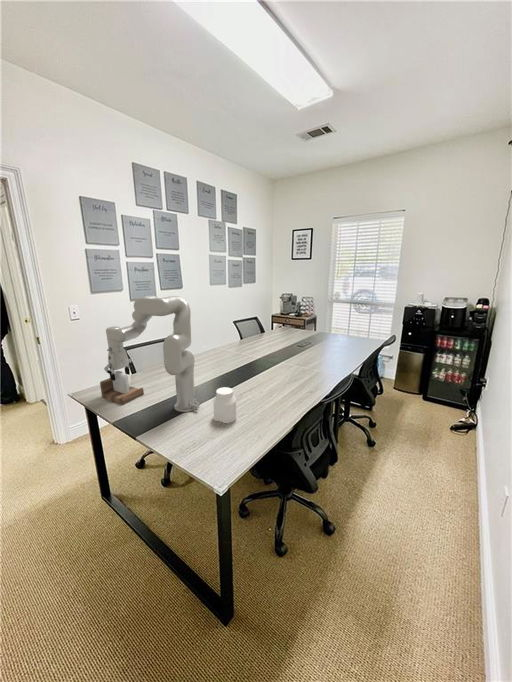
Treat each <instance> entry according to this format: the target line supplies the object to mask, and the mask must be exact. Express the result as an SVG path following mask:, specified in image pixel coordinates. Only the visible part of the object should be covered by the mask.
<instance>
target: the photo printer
mask: <svg viewBox="0 0 512 682" xmlns="http://www.w3.org/2000/svg"><path fill="white" fill-rule="evenodd" d="M113 374H115V381H113V388H114V390H115V391H117V392H120V393H123V394H126V393H128V392H129V386H130V384H129V376H128V374H125V371H121V370H115V371H114V373H113Z"/></svg>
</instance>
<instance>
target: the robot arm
mask: <svg viewBox="0 0 512 682" xmlns="http://www.w3.org/2000/svg"><path fill="white" fill-rule="evenodd" d="M133 309H134V311H132V313H131V317H132V319H133V322H132V324H130V325H127V326H124V327H119V326H109V327H106V329H105V333H106V341H107V349H106V351H107V352H108V353H107V363H108V364H107V365H106V366H105V367H103V369H104V371H105V372H106V373H107V374H109V378H110V379H111V380H113V381H115V374H113V373H114V372H115V371H119V370H121V369H124V373H125V374H126V375H127V376H128V375H129V376H130V374H131V372H130V368H131V366H132V365H131V364H132V361H133V359H131V358H129V356H128V353H127V350H126V349H124V343H125V342H128V341H130V340H133V339H137V338H139V336H140V335H141V334H143V332H144V331H145V330H147V329H146V328H147V326H148V325H147V324H148V322H149V321H150V320H151V319H152V318H153V317H166V316H170V315H173V314H174V318H173V322H172V326H173V328H172V329H173V332H172V334H169V335H167V336H166V337H165V339H164V341H163V344H162V347H163V348H162V351H163V365H164V369H165V371H166V372H167V373H168V374H169V375H171V376H175V377H174V378H175V392H176V393H175V394H176V395H175V396H176V403H175V404H174V406H173V407H174V410H175V411H177V412H179V413H189V412H192V411H194V410H196V409H199V408H200V406H201V402H198V401H197V398H196V395H195V394H196V393H195V392H196V391H195V374H194V371H195V355H194V353H192V352H191V351H189V350H186V349H188V348H189V347H190V346H191V344H192V328H191V327H192V326H191V313H192V312H191V308H190V305H189V303H188V301H187V300H186V299H185V298H183V297H181V296H178V295H171V296H166V297H160V298H159V297H158V296H156V295H152V294H150V295H146V296H139V297H138V298H136V299H135V300H134V302H133Z"/></svg>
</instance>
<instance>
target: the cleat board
mask: <svg viewBox="0 0 512 682" xmlns="http://www.w3.org/2000/svg"><path fill="white" fill-rule="evenodd" d="M99 385H100V391H101V398H102V399H105V400H108V401H111V402H115V403H117V404H121V405H126V404H128V403H131V402H132V401H135V400H136V399H138V398H141V397H142V396H144V395H145V392H144V387H140V388H138V387H134V386H130V385H129V392H128V393H126V394H123V393H120V392H117V391H115V390H114V388H113V380H111V379H110V377H109V378H107V379H104V380H101V381H99Z"/></svg>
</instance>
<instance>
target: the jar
mask: <svg viewBox="0 0 512 682" xmlns="http://www.w3.org/2000/svg"><path fill="white" fill-rule="evenodd" d="M215 391H216V395H215V396H214V397H213V399H212V403H213V420H214V421H216V422H219V421H220V423H222V422H223V424H224V423H228V424H231V423H234V422H235V421H236V420H237V418H236V417H238V415H237V398H236V396H235V395H234V390H233V388H230V387H226V386H223V387H219V388H217V389H216V390H215ZM235 419H236V420H235ZM234 420H235V421H234ZM230 422H231V423H230Z"/></svg>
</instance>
